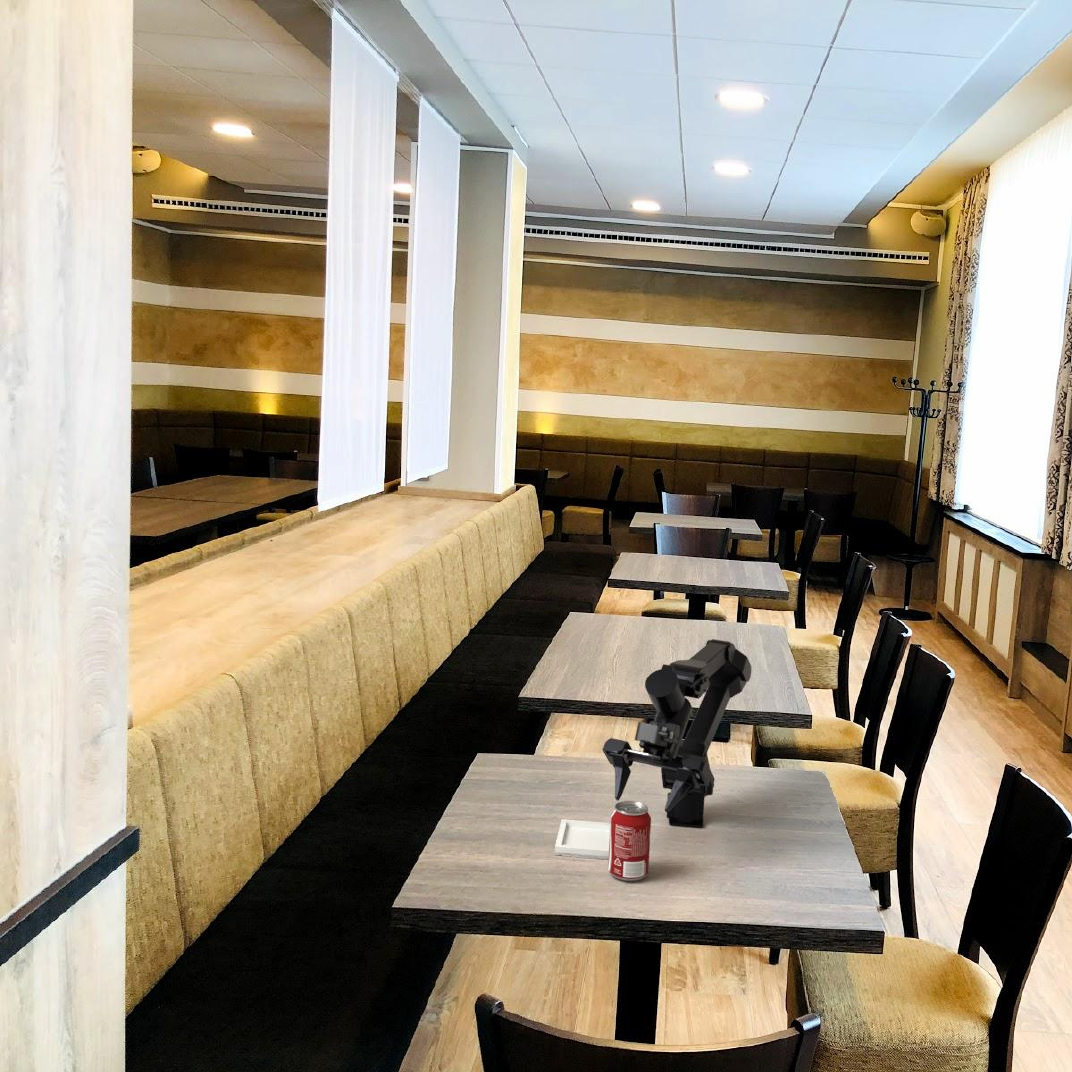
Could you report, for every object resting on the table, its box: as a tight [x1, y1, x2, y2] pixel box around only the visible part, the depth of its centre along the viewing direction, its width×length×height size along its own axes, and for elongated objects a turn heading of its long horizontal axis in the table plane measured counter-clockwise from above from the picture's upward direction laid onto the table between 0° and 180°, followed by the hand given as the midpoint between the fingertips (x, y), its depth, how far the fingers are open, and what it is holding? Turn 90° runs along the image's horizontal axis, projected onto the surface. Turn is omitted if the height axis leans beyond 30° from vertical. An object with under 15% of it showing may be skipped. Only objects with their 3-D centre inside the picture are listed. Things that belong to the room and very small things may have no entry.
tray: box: [554, 818, 610, 861], centre depth 198 cm, size 12×12×2 cm
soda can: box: [607, 800, 652, 882], centre depth 185 cm, size 7×7×12 cm
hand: (641, 805), depth 188 cm, fingers open, 9 cm apart
